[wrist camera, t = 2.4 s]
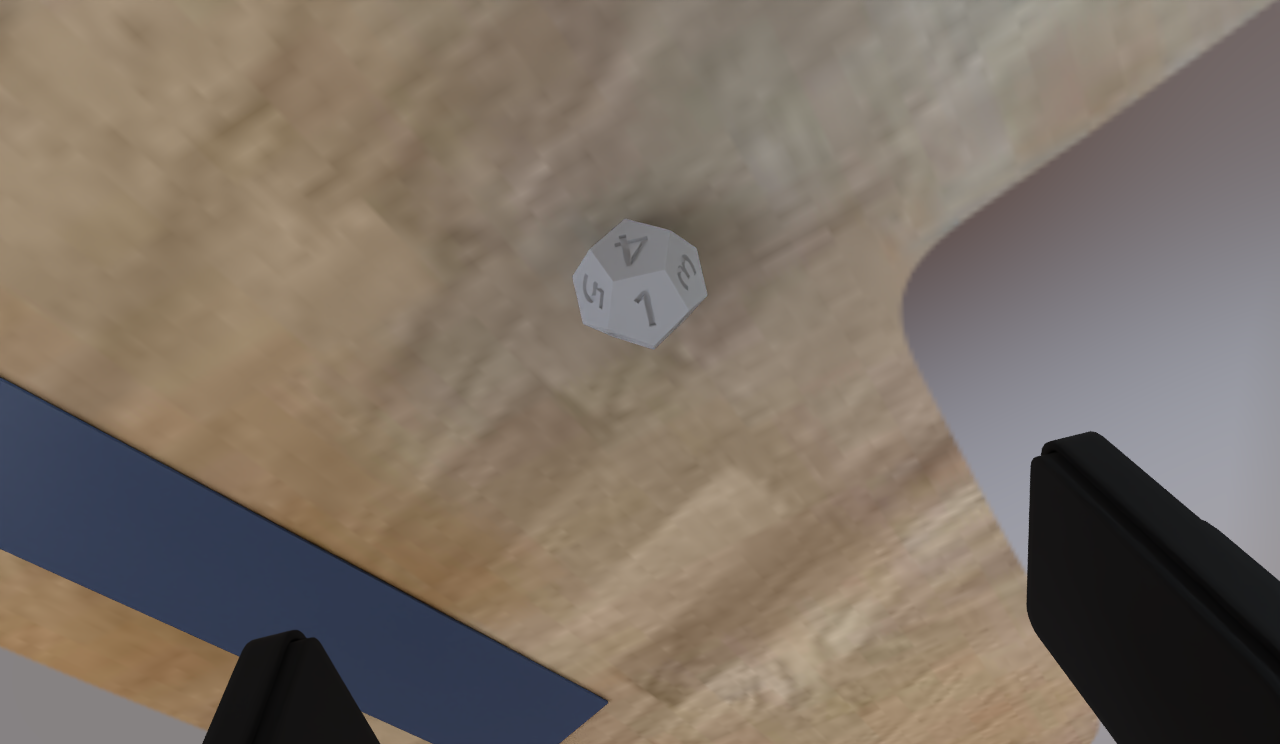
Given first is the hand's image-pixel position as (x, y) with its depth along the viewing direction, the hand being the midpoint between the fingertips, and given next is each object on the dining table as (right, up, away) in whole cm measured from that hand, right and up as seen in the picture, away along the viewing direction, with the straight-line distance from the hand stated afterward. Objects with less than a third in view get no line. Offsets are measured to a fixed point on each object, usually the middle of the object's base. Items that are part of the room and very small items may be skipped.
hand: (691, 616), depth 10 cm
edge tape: (-13, -5, +18) cm, 23 cm away
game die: (-1, +6, +13) cm, 15 cm away
